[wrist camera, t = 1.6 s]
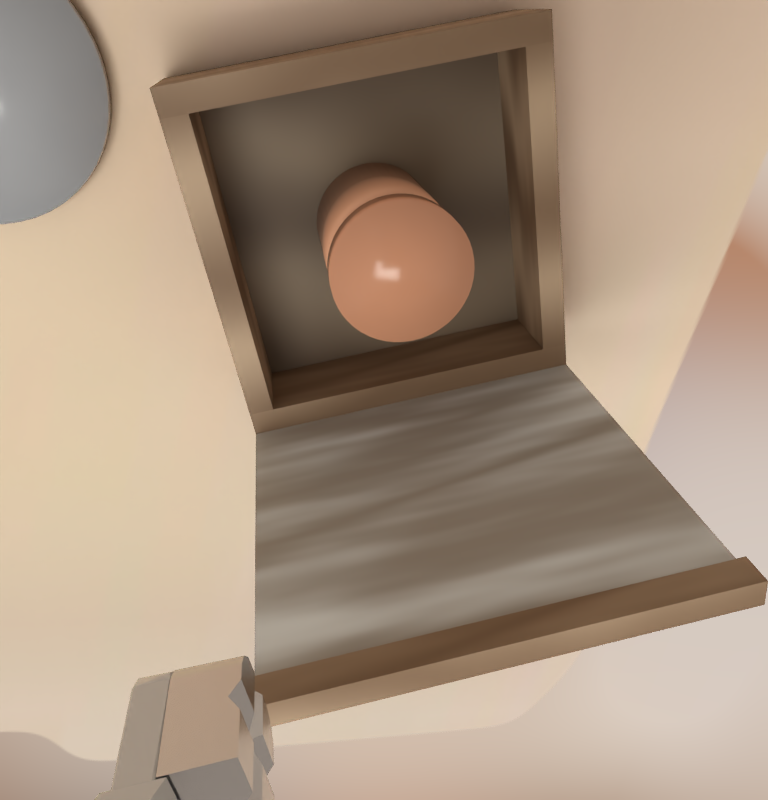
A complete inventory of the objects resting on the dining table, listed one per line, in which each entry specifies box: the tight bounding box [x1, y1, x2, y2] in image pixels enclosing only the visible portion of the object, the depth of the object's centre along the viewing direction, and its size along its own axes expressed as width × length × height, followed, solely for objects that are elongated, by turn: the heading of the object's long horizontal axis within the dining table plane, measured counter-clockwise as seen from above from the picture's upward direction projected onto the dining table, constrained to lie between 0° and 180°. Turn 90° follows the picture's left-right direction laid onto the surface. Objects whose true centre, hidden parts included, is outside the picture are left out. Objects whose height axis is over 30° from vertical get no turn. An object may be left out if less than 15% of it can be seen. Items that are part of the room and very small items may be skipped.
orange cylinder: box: [317, 163, 475, 342], centre depth 27 cm, size 5×5×7 cm
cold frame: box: [150, 9, 768, 727], centre depth 23 cm, size 15×14×18 cm
